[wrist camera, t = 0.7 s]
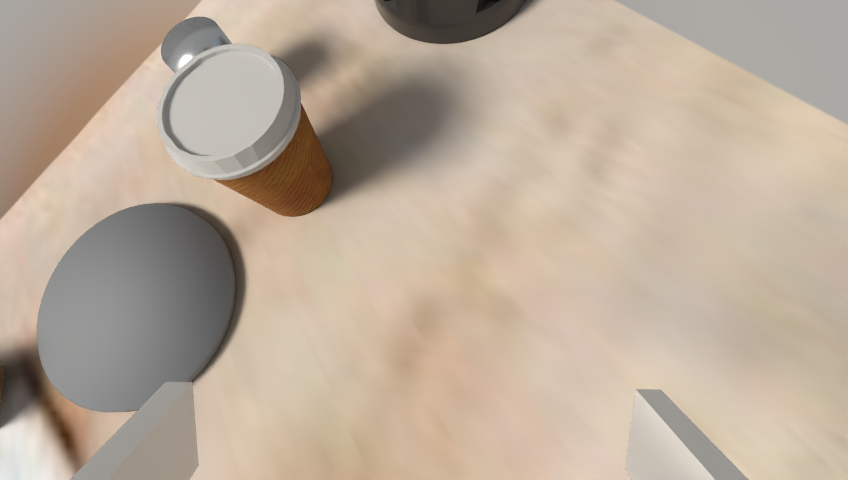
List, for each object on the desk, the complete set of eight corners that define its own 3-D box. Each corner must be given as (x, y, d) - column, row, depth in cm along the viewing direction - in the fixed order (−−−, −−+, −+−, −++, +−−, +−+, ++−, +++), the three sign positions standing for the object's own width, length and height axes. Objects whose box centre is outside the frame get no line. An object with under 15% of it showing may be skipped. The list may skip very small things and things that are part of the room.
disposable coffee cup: (316, 252, 40) (238, 191, 28) (225, 210, 42) (121, 139, 31) (371, 153, 42) (319, 59, 30) (280, 119, 44) (202, 22, 33)
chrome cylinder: (226, 78, 47) (172, 16, 40) (274, 80, 46) (228, 17, 38) (211, 124, 46) (152, 68, 38) (260, 127, 44) (209, 70, 37)
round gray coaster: (92, 199, 45) (83, 195, 44) (260, 217, 41) (254, 213, 40) (15, 391, 40) (3, 391, 39) (199, 431, 36) (190, 431, 35)
